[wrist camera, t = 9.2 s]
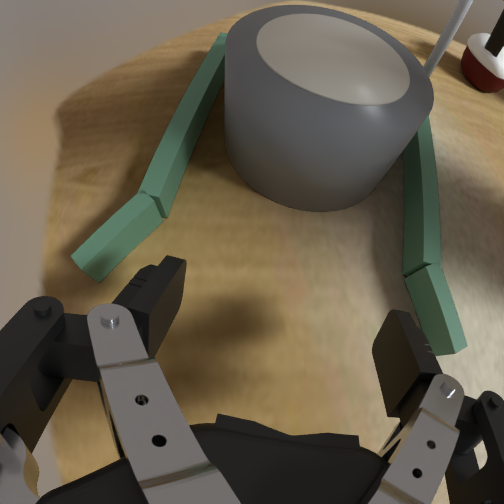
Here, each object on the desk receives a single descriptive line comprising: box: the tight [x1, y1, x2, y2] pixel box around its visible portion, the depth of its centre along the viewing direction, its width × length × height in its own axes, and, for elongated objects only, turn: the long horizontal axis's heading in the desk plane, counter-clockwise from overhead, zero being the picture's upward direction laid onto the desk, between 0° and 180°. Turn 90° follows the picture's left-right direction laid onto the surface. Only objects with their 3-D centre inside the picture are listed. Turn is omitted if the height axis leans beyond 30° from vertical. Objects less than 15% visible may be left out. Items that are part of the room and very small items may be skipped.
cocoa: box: [461, 10, 504, 93], centre depth 21 cm, size 10×6×12 cm, turn 105°
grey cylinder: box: [224, 5, 434, 212], centre depth 17 cm, size 11×11×8 cm
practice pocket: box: [71, 0, 504, 356], centre depth 12 cm, size 20×22×16 cm
